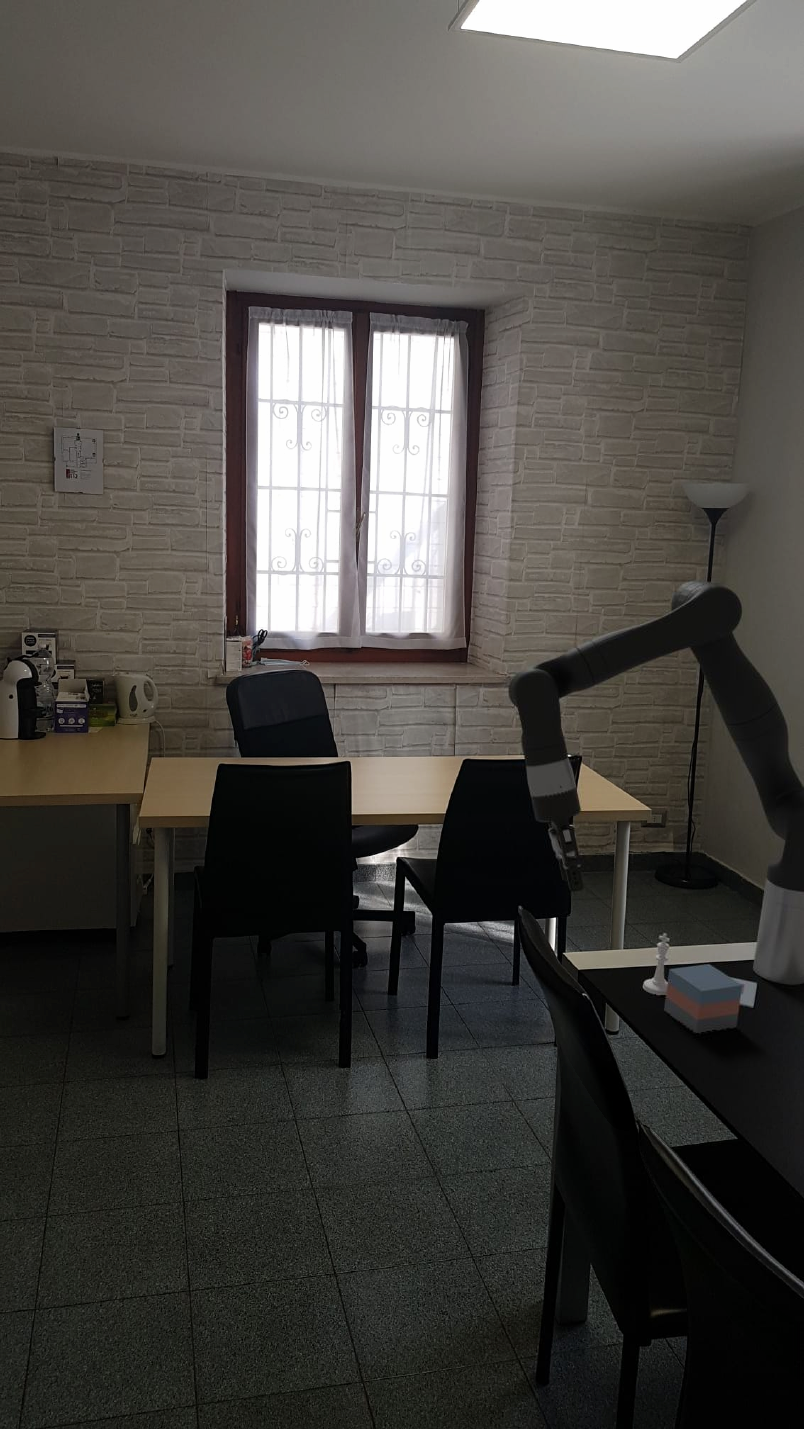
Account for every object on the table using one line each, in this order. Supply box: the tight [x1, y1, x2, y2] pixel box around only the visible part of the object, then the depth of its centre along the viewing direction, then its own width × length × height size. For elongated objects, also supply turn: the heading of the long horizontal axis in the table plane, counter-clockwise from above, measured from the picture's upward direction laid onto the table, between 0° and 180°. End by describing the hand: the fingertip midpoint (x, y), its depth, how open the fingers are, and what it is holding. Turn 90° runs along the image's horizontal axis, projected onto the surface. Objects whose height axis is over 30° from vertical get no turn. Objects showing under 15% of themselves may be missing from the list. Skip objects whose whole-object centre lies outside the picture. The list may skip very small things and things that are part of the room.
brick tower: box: [663, 963, 742, 1034], centre depth 171 cm, size 8×8×7 cm
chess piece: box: [642, 933, 670, 996], centre depth 180 cm, size 5×5×10 cm
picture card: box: [729, 976, 758, 1009], centre depth 183 cm, size 10×7×1 cm
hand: (573, 885), depth 175 cm, fingers open, 8 cm apart
